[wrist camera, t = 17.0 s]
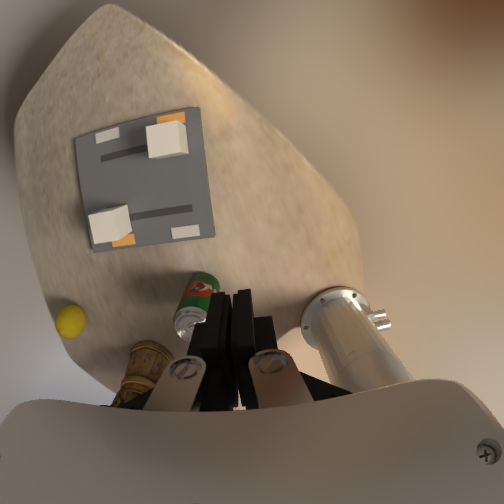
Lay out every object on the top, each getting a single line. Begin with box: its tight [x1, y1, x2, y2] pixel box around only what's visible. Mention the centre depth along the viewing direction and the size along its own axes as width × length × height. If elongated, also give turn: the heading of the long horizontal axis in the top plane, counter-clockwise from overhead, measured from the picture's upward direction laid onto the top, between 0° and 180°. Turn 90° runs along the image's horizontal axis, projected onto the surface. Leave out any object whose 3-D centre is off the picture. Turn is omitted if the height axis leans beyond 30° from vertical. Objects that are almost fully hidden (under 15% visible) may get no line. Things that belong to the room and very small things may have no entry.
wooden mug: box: [99, 341, 174, 408], centre depth 39 cm, size 9×14×18 cm, turn 116°
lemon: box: [55, 305, 86, 339], centre depth 40 cm, size 6×6×8 cm
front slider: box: [146, 120, 189, 159], centre depth 32 cm, size 4×4×5 cm
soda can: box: [173, 273, 220, 342], centre depth 37 cm, size 5×5×12 cm
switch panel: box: [75, 107, 216, 253], centre depth 37 cm, size 20×18×2 cm
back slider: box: [88, 205, 132, 244], centre depth 35 cm, size 4×4×5 cm
